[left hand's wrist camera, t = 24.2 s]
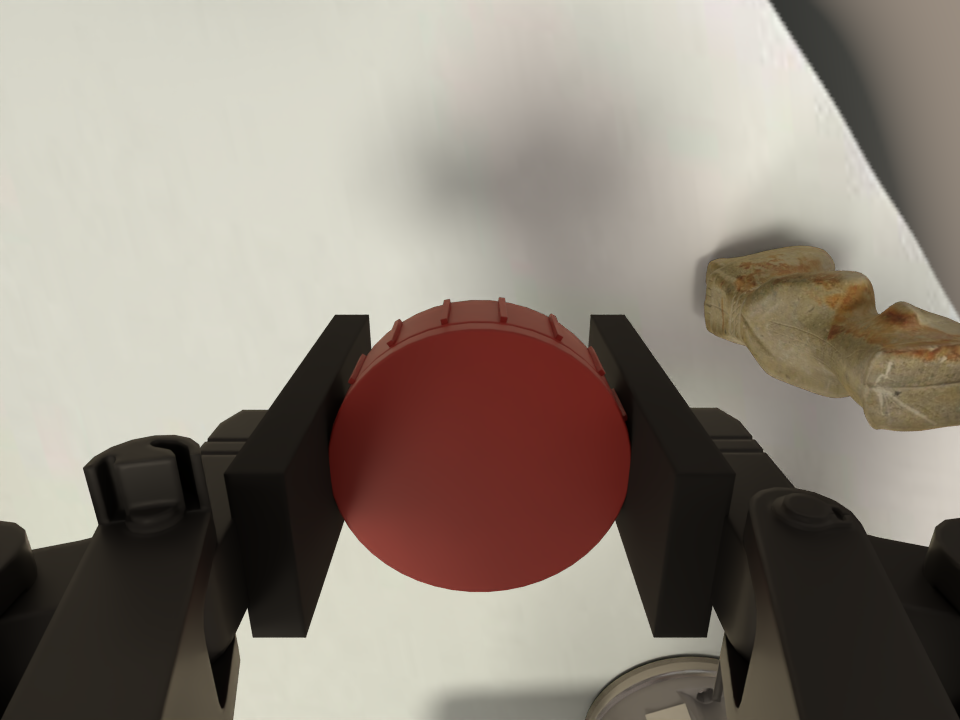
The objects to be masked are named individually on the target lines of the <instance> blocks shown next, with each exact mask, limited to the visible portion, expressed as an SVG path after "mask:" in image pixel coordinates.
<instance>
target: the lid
mask: <svg viewBox="0 0 960 720" xmlns="http://www.w3.org/2000/svg"><path fill="white" fill-rule="evenodd" d="M604 374H605V371H604V369H603V367H602V365H601V363H600V361H599V359H598V357H597V354H596V352H595V350H594V349H593V348H592V346H590V347H589V348H587V347H586V346H585V345H584V344H583V343H582V342H581V341H580V340H579V339H578V338H577V337H576V336H575V335H574V334H573V333H572V332H570V331H569V330H568V329H566V328H565V327H564V326H562V325H561V324H560V323H558V321H557V318H556V316H555V315H553V314H550V316H549V317H547V316H546V315H544V314H541V313H539V312H537V311H534V310H532V309H529V308H527V307H523V306H519V305H515V304H512V303H507V302H505V298H501V297H499V300H498V301H492V300H469V301H460V302H452V303H451V302H450V299H447V300H444V303H443V305H440V306H436V307H433V308H431V309H428V310H426V311H423V312H420V313H418V314H416V315H414V316H412V317H410V318H409V319H407V320H405V321H403V322H402V321H401V320H400V319H398V320H397V321H395V323H394V325H393V328H392V330H391V331H389V332H388V333H387V334H386V335H385V336H384V337H383V338H382V339H381V340H380V341H379V342H378V343H377V344H375V345H374V347H373V348H372V349H371V351H370V352H369V353H368V355H367V356H366V355H364V354H362V355H361V357H360V358H359V360H358V362H357V364H356V366H355V368H354V370H353V373H352V375H351V377H350V379H349V381H348V383H350V384H351V385H350V387H349V390H348V392H347V394H346V396H345V398H344V400H343V403H342V405H341V407H340V409H339V411H338V414H337V416H336V419H335V421H334V424H333V427H332V431H331V436H330V440H329V445H328V452H329V464H330V474H331V483H332V491H333V496H334V499H335V501H336V504H337V506H338V508H339V511H340V513H341V515H342V517H343V518H344V520H345V522H346V523H347V525H348V527H349V528H350V530H351V531H352V532H353V533H354V535H355V536H356V537H357V538H358V540H359V541H360V542H361V543H362V544H363V545H364V546H365V547H366V548H367V549H368V550H369V551H370V552H371V553H372V554H373V555H375V556H376V557H377V558H379V559H380V560H381V561H383V562H384V563H385V564H387V565H388V566H390V567H392V568H393V569H395V570H397V571H398V572H400V573H402V574H404V575H406V576H409V577H411V578H413V579H415V580H417V581H420V582H423V583H426V584H430V585H433V586H436V587H441V588H446V589H450V590H458V591H467V592H492V591H502V590H509V589H514V588H519V587H524V586H527V585H530V584H533V583H536V582H539V581H542V580H544V579H547V578H549V577H551V576H553V575H556V574H558V573H559V572H561V571H563V570H565V569H566V568H568V567H570V566H571V565H573V564H574V563H576V562H577V561H578V560H580V559H581V558H582V557H584V556H585V555H586V554H587V553H588V552H589V551H590V550H591V549H592V548H594V547H595V546H596V545H597V544H598V543H599V542H600V540H601V539H602V538H603V537H604V535H605V534H606V533H607V532H608V530H609V529H610V528H611V526H612V524H613V523H614V521H615V519H616V518H617V516H618V514H619V512H620V510H621V507H622V505H623V503H624V500H625V498H626V494H627V488H628V479H629V470H630V459H631V443H630V438H629V433H628V428H627V426H626V423H625V421H627V414H626V412H625V410H624V408H623V406H622V404H621V402H620V400H619V398H618V396H617V394H616V392H615V389H614V388H613V389H611V388H610V386H609V384H608V382H607V380H606V378H605V376H604Z"/></svg>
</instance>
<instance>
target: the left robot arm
mask: <svg viewBox="0 0 960 720" xmlns="http://www.w3.org/2000/svg"><path fill="white" fill-rule="evenodd" d="M590 346H592V348H593V349H594V350H595V352H596V354H597V357H598V359H599V361H600V363H601V365H602V367H603V369H604V371H605V374H604V376H605V378H606V380H607V382H608V384H609V386H610V388H611V389H613V388H614V389H615V392H616V394H617V396H618V398H619V400H620V402H621V404H622V406H623V408H624V410H625V412H626V414H627V421H625V423H626V426H627V428H628V433H629V438H630V443H631V459H630V470H629V479H628V488H627V494H626V498H625V500H624V503H623V505H622V507H621V510H620V512H619V514H618V516H617V518H616V519H615V521H616V524H617V527H618V530H619V533H620V536H621V539H622V542H623V545H624V548H625V551H626V554H627V558H628V561H629V564H630V567H631V570H632V573H633V576H634V579H635V582H636V585H637V588H638V591H639V594H640V597H641V600H642V603H643V606H644V609H645V612H646V615H647V618H648V621H649V624H650V628H651V631H652V634H653V637H707V633H708V628H709V622H710V617H711V611H712V605H713V607H714V610H715V612H716V614H717V616H718V618H719V620H720V622H721V624H722V627H723V629H724V631H725V633H724V638H723V643H722V648H721V654H720V659H714V658H707V657H677V658H670V659H664V660H660V661H656V662H652V663H649V664H646V665H643V666H641V667H638V668H636V669H634V670H632V671H630V672H628V673H626V674H624V675H622V676H621V677H619V678H618V679H616V680H615V681H614V682H612V683H611V684H610V685H609V686H607V687H606V688H605V689H604V690H603V691H602V692H601V693H600V694H599V696H598V697H597V698H596V699H595V701H594V702H593V704H592V705H591V707H590V709H589V711H588V713H587V716H586V719H585V720H960V518H956V519H948V520H944V521H943V522H942V523H940V524H939V525H937V526H936V527H935V530H934V533H933V536H932V539H931V542H930V545H929V547H926V546H920V545H915V544H910V543H905V542H899V541H894V540H889V539H884V538H879V537H875V536H871V535H867V534H866V532H865V530H864V528H863V526H862V524H861V523H860V521H859V520H858V519H857V518H856V517H855V515H854V514H853V513H852V512H851V511H850V510H848V509H847V508H845V507H844V506H842V505H841V504H839V503H838V502H836V501H834V500H832V499H829V498H827V497H825V496H822V495H820V494H817V493H815V492H810V491H806V490H801V489H797V488H795V487H794V486H793V485H792V484H791V482H790V481H789V480H788V479H787V478H786V476H785V475H784V474H783V473H782V472H781V470H780V469H779V468H778V467H777V466H776V464H775V463H774V462H773V461H772V460H771V458H770V457H769V456H768V455H767V454H766V453H763V449H762V448H761V446H760V445H759V444H758V443H757V442H756V440H753V439H752V435H751V434H750V433H749V432H748V431H747V429H746V428H745V427H744V426H743V425H742V423H741V422H740V421H739V420H737V419H735V418H733V417H732V416H730V415H728V414H727V413H725V412H723V411H722V410H720V409H718V408H690V407H689V406H688V405H687V403H686V402H685V400H684V399H683V397H682V396H681V395H680V393H679V392H678V390H677V389H676V387H675V386H674V385H673V383H672V382H671V380H670V379H669V377H668V376H667V375H666V373H665V372H664V370H663V369H662V367H661V366H660V365H659V363H658V362H657V360H656V359H655V358H654V356H653V355H652V353H651V352H650V350H649V349H648V348H647V346H646V345H645V343H644V342H643V340H642V339H641V338H640V336H639V335H638V333H637V332H636V330H635V329H634V328H633V326H632V325H631V323H630V322H629V320H628V319H627V318H626V316H625V315H591V319H590V333H589V347H590ZM589 347H588V348H589ZM370 351H371V338H370V324H369V315H335V316H334V317H333V319H332V320H331V321H330V323H329V324H328V326H327V327H326V328H325V330H324V331H323V333H322V334H321V336H320V337H319V338H318V340H317V341H316V343H315V344H314V346H313V347H312V348H311V350H310V351H309V353H308V354H307V356H306V357H305V358H304V360H303V361H302V363H301V364H300V365H299V367H298V368H297V370H296V371H295V373H294V374H293V375H292V377H291V378H290V380H289V381H288V383H287V384H286V385H285V387H284V388H283V390H282V391H281V393H280V394H279V395H278V397H277V398H276V400H275V401H274V403H273V404H272V405H271V407H270V408H269V410H242V411H240V412H238V413H237V414H235V415H233V416H232V417H230V418H228V419H227V420H225V421H223V422H222V423H220V424H219V426H218V427H217V428H216V429H215V430H214V432H213V433H212V434H211V435H210V436H209V438H208V442H205V443H204V444H203V445H202V446H201V447H200V446H199V444H198V443H196V442H195V441H193V440H192V439H191V438H187V437H182V436H177V435H156V436H150V437H144V438H139V439H134V440H130V441H128V442H125V443H122V444H119V445H116V446H113V447H111V448H109V449H107V450H105V451H104V452H102V453H100V454H98V455H97V456H95V457H93V458H92V459H91V460H90V461H89V462H88V463H87V464H86V465H85V466H84V467H83V470H84V474H85V477H86V481H87V485H88V488H89V492H90V495H91V499H92V503H93V506H94V510H95V513H96V517H97V521H98V524H99V525H98V527H97V529H96V531H95V533H94V535H93V537H92V538H88V539H84V540H80V541H75V542H70V543H65V544H60V545H54V546H49V547H44V548H39V549H34V550H31V547H30V544H29V541H28V538H27V535H26V532H25V530H24V529H23V528H22V527H20V526H19V525H18V524H16V523H13V522H5V521H0V720H233V716H234V708H235V700H236V691H237V683H238V675H239V667H240V655H239V649H238V643H237V638H236V631H237V629H238V627H239V625H240V623H241V620H242V618H243V616H244V614H245V612H246V610H247V608H248V613H249V619H250V624H251V630H252V635H253V638H258V637H306V635H307V632H308V629H309V626H310V623H311V620H312V617H313V614H314V611H315V608H316V605H317V602H318V599H319V596H320V593H321V590H322V587H323V584H324V581H325V578H326V575H327V572H328V569H329V566H330V562H331V559H332V556H333V553H334V550H335V547H336V544H337V541H338V538H339V535H340V532H341V529H342V526H343V523H344V518H343V517H342V515H341V513H340V511H339V508H338V506H337V504H336V501H335V499H334V496H333V491H332V483H331V474H330V464H329V452H328V445H329V440H330V436H331V431H332V427H333V424H334V421H335V419H336V416H337V414H338V411H339V409H340V407H341V405H342V403H343V400H344V398H345V396H346V394H347V392H348V390H349V387H350V385H351V384H350V383H348V381H349V379H350V377H351V375H352V373H353V370H354V368H355V366H356V364H357V362H358V360H359V358H360V357H361V355H362V354H364V355H366V356H367V355H368V353H369V352H370Z"/></svg>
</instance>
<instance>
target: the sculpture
mask: <svg viewBox="0 0 960 720" xmlns="http://www.w3.org/2000/svg"><path fill="white" fill-rule="evenodd" d="M706 284H707V289H706V299H705V302H704V311H705V322H706V328H707V330H708V331H709V332H711V333H713V334H714V335H715V336H718V337H721V338H723V339H726V340H728V341H731V342H734V343H737V344H741V345H744V346H747V348H748V349H749V350H750V352H751V353H752V355H753V356H754V358H755V359H756V361H757V362H758V363H759V365H760V366H761V367H762V369H763V370H764V371H765V372H766V373H767V374H769V375H770V376H772V377H774V378H776V379H778V380H781V381H784V382H786V383H789V384H791V385H794V386H796V387H799V388H802V389H805V390H807V391H810V392H813V393H816V394H819V395H822V396H826V397H831V398H842V397H848V396H851V397H852V398H853V399H854V400H855V401H856V403H858V404H859V405H860V406H861V407H863V410H864V414H865V416H866V419H867V421H868V423H869V424H870V426H871V427H872V428H874V429H886V430H893V431H922V430H929V429H935V428H942V427H948V426H958V425H960V323H958V322H956V321H954V320H951V319H949V318H946V317H943V316H940V315H937V314H934V313H930V312H927V311H925V310H922V309H920V308H917V307H915V306H913V305H911V304H909V303H907V302H897V303H895V304H893V305H892V306H890V307H889V308H888V309H886V310H885V311H884V312H882V313H881V314H878V313H877V311H876V307H875V296H874V291H873V287H872V284H871V282H870V280H869V279H868V278H867V277H866V276H865V275H863V274H862V273H859V272H855V271H835V264H834V262H833V260H832V258H831V257H830V255H829V254H828V253H827V252H826V251H824V250H822V249H820V248H816V247H811V246H790V247H783V248H778V249H772V250H768V251H763V252H759V253H755V254H751V255H747V256H742V257H735V258H728V259H726V258H720V259H716V260H713V261H711V262H710V263H709V265H708V268H707V273H706Z"/></svg>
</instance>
